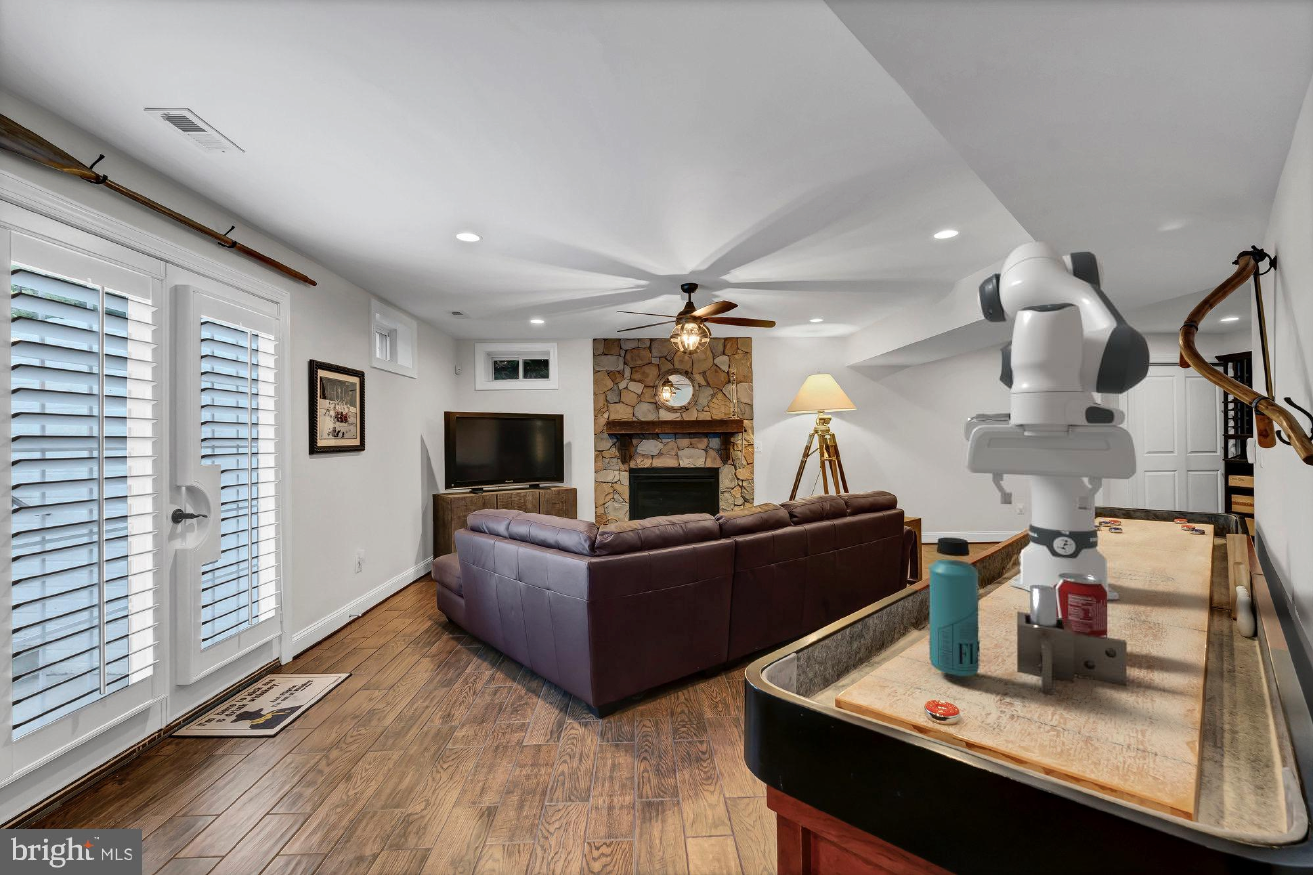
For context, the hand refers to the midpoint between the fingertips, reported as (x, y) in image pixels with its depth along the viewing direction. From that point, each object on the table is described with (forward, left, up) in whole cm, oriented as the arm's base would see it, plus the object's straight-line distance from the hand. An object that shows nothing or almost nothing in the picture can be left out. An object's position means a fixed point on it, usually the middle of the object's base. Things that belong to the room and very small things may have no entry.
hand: (1044, 506), depth 80 cm
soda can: (-10, +5, -24) cm, 27 cm away
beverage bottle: (+10, -11, -24) cm, 29 cm away
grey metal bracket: (+3, +3, -24) cm, 25 cm away
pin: (0, 0, -24) cm, 24 cm away
